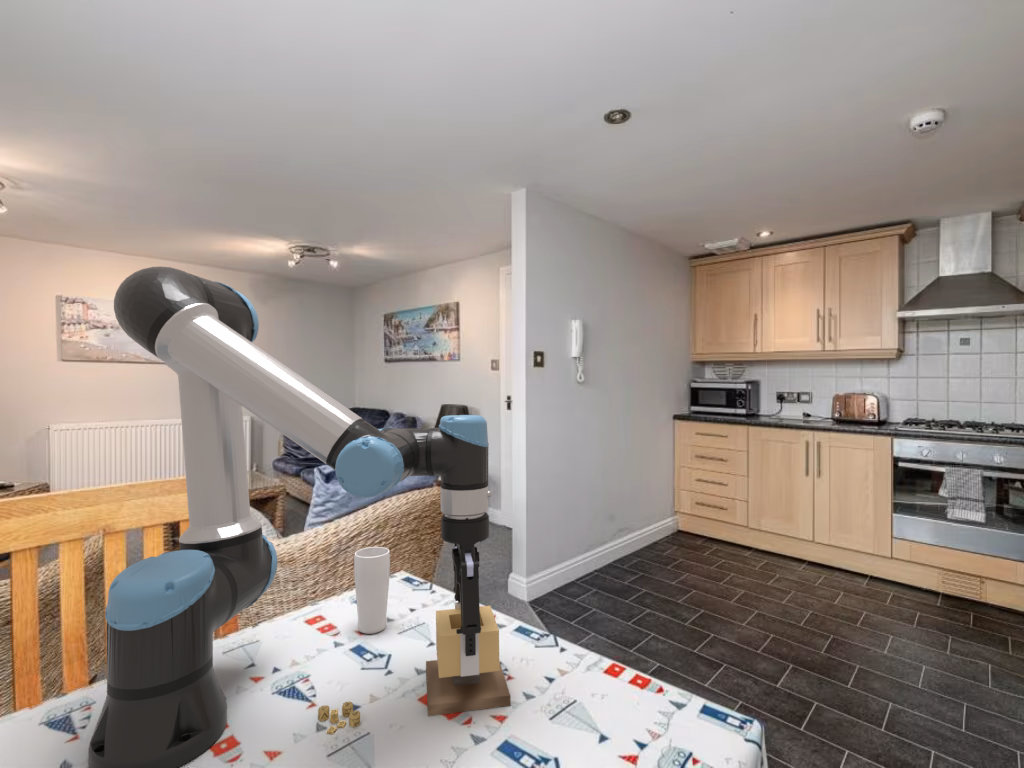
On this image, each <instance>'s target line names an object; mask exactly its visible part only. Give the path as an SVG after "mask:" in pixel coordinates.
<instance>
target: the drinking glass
mask: <svg viewBox="0 0 1024 768" xmlns="http://www.w3.org/2000/svg"><path fill="white" fill-rule="evenodd" d="M390 551H391V550H390V549H389V548H387V547H384V546H383V547H382V546H370V547H364V548H361V549H358V550H356V551H355V553H354V557H353V558H354V559H353V574H354V575H353V579H354V588H355V597H356V599H355V600H356V609H357V629H358V631H359V632H360V633H362V634H365V635H372V634H378V633H380V632H382V631H383V630H385V629H386V627H387V611H388V600H389V597H388V596H389V588H390V587H389V585H390V578H391V577H390V575H391V555H390V553H391V552H390Z"/></svg>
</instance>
